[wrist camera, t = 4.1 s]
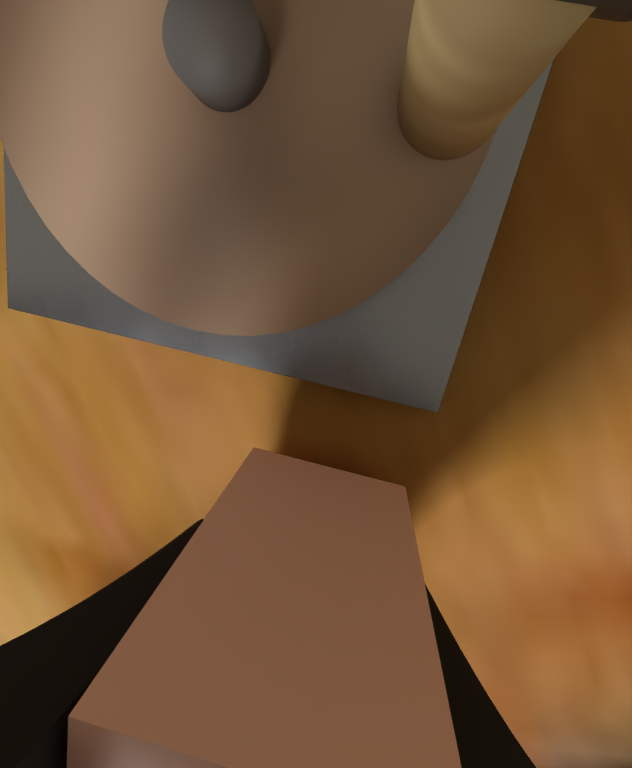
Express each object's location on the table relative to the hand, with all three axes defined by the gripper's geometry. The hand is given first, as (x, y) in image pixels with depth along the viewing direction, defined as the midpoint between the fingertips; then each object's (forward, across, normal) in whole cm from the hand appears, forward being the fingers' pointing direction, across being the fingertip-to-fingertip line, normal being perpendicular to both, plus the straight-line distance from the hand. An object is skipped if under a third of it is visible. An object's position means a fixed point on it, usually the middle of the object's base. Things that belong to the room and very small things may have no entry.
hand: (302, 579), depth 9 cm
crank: (+2, +4, -11) cm, 12 cm away
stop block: (+2, 0, 0) cm, 2 cm away
